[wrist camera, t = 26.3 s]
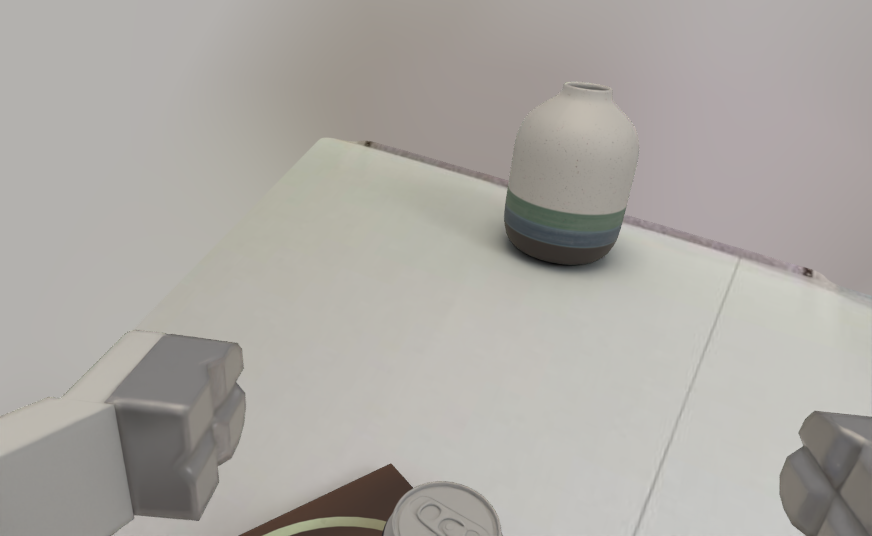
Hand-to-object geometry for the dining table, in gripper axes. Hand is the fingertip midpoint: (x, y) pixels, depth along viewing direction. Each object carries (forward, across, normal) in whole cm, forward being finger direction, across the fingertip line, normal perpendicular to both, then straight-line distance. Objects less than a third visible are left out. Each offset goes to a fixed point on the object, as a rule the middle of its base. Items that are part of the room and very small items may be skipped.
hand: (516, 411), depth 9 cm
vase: (+76, -15, +30) cm, 83 cm away
